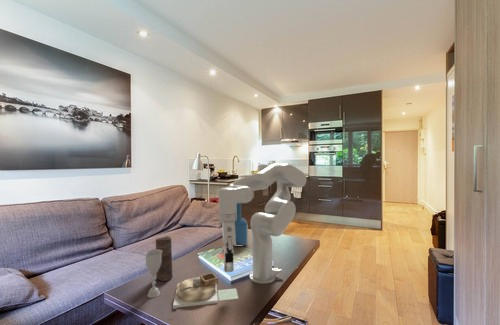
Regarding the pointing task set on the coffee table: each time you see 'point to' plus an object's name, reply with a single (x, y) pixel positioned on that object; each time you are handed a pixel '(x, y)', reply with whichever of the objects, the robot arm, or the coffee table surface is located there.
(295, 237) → the coffee table surface
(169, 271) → the candle
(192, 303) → the dial base
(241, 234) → the wine bottle
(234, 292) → the pad
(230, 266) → the small glass bottle
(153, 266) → the chalice
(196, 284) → the dial
